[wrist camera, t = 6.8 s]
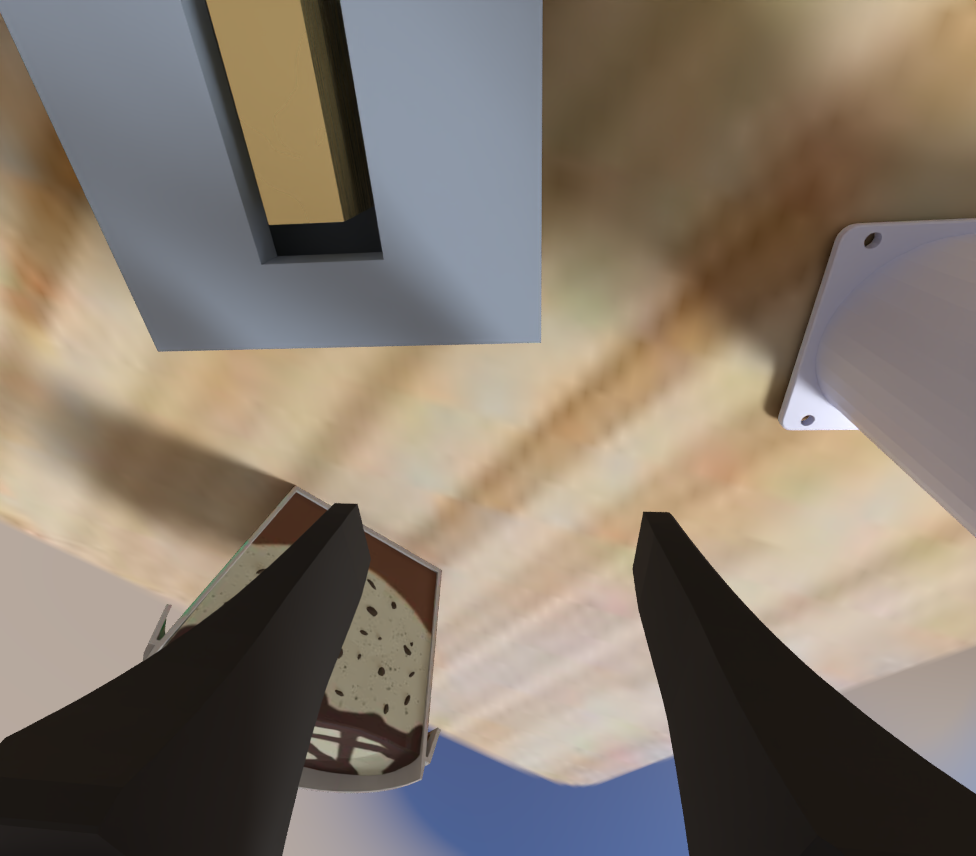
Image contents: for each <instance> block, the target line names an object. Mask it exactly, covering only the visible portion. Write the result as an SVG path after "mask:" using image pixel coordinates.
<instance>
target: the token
mask: <svg viewBox="0 0 976 856" xmlns="http://www.w3.org/2000/svg"><path fill="white" fill-rule="evenodd" d="M206 2H207V5H208V9H209V12H210V16H211V20H212V23H213V27H214V30H215V34H216V37H217V41H218V45H219V48H220V52H221V55H222V59H223V62H224V66H225V70H226V73H227V77H228V80H229V84H230V88H231V91H232V95H233V98H234V102H235V105H236V109H237V113H238V116H239V120H240V123H241V127H242V130H243V134H244V138H245V141H246V145H247V148H248V152H249V155H250V159H251V163H252V166H253V170H254V173H255V177H256V181H257V184H258V188H259V191H260V195H261V198H262V202H263V206H264V209H265V213H266V216H267V220H268V223H269V225H279V224H303V223H326V222H345V221H346V220H348V219H350V218H352V217H354V216H356V215H358V214H360V213H362V212H364V211H366V210H367V209H369V208H371V207H373V206H375V204H374V199H373V193H372V187H371V181H370V175H369V169H368V163H367V157H366V151H365V145H364V139H363V133H362V127H361V121H360V116H359V110H358V104H357V98H356V92H355V86H354V80H353V74H352V68H351V62H350V56H349V50H348V44H347V38H346V33H345V27H344V21H343V15H342V9H341V3H340V0H206Z"/></svg>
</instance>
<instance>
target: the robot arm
mask: <svg viewBox="0 0 976 856" xmlns="http://www.w3.org/2000/svg"><path fill="white" fill-rule="evenodd" d="M871 233H875V236H874V239H873V241H872V242H871V243H870V244H869V245H867V246H864V241H865V239H866V237H867V236H869V235H870V234H871ZM807 415H810V416H809V417H808V419H806V420H803V421H801V420H802V418H803V417H805V416H807ZM778 421H779V423H780V424H781V426H782V427H783V428H785V429H787V430H860V431H861V432H862V433H863V434H864V435H866V436H867V437H868V438H869V439H870V440H871V441H872V442H873V443H874V444H875V445H876V446H877V447H878V448H880V449H881V450H882V451H883V452H884V453H885V454H886V455H887V456H888V457H889V458H890V459H891V460H892V461H894V462H895V463H896V464H897V465H898V466H899V467H900V468H901V469H902V470H903V471H904V472H905V473H906V474H908V475H909V476H910V477H911V478H912V479H913V480H914V481H915V482H916V483H917V484H918V485H919V486H920V487H922V488H923V489H924V490H925V491H926V492H927V493H928V494H929V495H930V496H931V497H932V498H933V499H935V500H936V501H937V502H938V503H939V504H940V505H941V506H942V507H943V508H944V509H945V510H946V511H947V512H949V513H950V514H951V515H952V516H953V517H954V518H955V519H956V520H957V521H958V522H959V523H960V524H961V525H963V526H964V527H965V528H966V529H967V530H968V531H969V532H970V533H971V534H972V535H973V536H974V537H975V538H976V218H966V219H943V220H920V221H897V222H875V223H855V224H851V225H848V226H847V227H845V228H843V229H842V230H841V231H840V232H839V234H838V235H837V237H836V239H835V242H834V245H833V248H832V251H831V254H830V257H829V260H828V264H827V267H826V270H825V273H824V276H823V279H822V282H821V285H820V288H819V291H818V295H817V298H816V301H815V304H814V307H813V310H812V313H811V316H810V319H809V323H808V326H807V329H806V332H805V335H804V338H803V341H802V344H801V347H800V351H799V354H798V357H797V360H796V363H795V366H794V369H793V372H792V375H791V379H790V382H789V385H788V388H787V391H786V394H785V397H784V400H783V403H782V407H781V410H780V413H779V416H778ZM370 561H371V557H370V553H369V549H368V545H367V541H366V537H365V533H364V529H363V524H362V520H361V516H360V512H359V508H358V504H341V503H335V504H334V505H332V506H331V507H330V508H329V509H328V510H327V511H326V512H325V513H324V514H323V515H322V516H321V517H320V518H319V519H318V520H317V521H316V522H315V523H314V524H313V525H312V526H311V527H310V528H309V529H308V530H307V531H306V532H304V533H303V534H302V535H301V536H300V537H299V538H298V539H297V540H296V541H295V542H294V543H293V544H292V545H291V546H290V547H289V548H288V549H287V550H286V551H285V552H284V553H283V554H281V555H280V556H279V557H278V558H277V559H276V560H275V561H274V562H273V563H272V564H271V565H270V566H269V567H267V568H266V569H265V570H264V571H263V572H262V573H261V574H259V575H258V576H257V577H256V578H255V579H254V580H252V581H251V582H250V583H249V584H248V585H247V586H246V587H244V588H243V589H242V590H241V591H240V592H239V593H237V594H236V595H235V596H234V597H233V598H231V599H230V600H229V601H228V602H226V603H225V604H224V605H222V606H221V607H220V608H219V609H217V610H216V611H215V612H213V613H212V614H211V615H209V616H208V617H207V618H205V619H204V620H203V621H201V622H200V623H199V624H197V625H196V626H195V627H193V628H192V629H190V630H189V631H188V632H186V633H185V634H183V635H182V636H180V637H179V638H177V639H176V640H174V641H173V642H171V643H170V644H168V645H167V646H165V647H164V648H162V649H161V650H159V651H158V652H156V653H155V654H153V655H152V656H150V657H149V658H147V659H146V660H144V661H143V662H141V663H139V664H138V665H136V666H135V667H133V668H131V669H130V670H128V671H126V672H125V673H123V674H121V675H120V676H118V677H117V678H115V679H113V680H111V681H110V682H108V683H106V684H105V685H103V686H101V687H99V688H98V689H96V690H94V691H93V692H91V693H89V694H87V695H86V696H84V697H82V698H81V699H79V700H77V701H75V702H73V703H71V704H69V705H67V706H65V707H64V708H62V709H60V710H58V711H56V712H54V713H52V714H50V715H48V716H46V717H45V718H43V719H41V720H39V721H37V722H35V723H33V724H32V725H29V726H27V727H26V728H24V729H22V730H20V731H18V732H16V733H14V734H12V735H10V736H8V737H6V738H5V739H4V740H3V741H2V742H1V743H0V856H282V854H283V849H284V845H285V840H286V836H287V832H288V827H289V823H290V819H291V815H292V811H293V807H294V803H295V799H296V794H297V790H298V786H299V782H300V779H301V775H302V771H303V767H304V764H305V760H306V756H307V752H308V749H309V745H310V741H311V737H312V734H313V731H314V727H315V724H316V720H317V717H318V713H319V710H320V706H321V703H322V699H323V696H324V693H325V691H326V688H327V685H328V682H329V679H330V677H331V674H332V672H333V669H334V666H335V664H336V661H337V659H338V656H339V654H340V651H341V649H342V646H343V644H344V641H345V638H346V636H347V633H348V631H349V628H350V626H351V623H352V620H353V618H354V615H355V613H356V610H357V607H358V605H359V602H360V599H361V597H362V593H363V589H364V586H365V582H366V578H367V574H368V570H369V565H370ZM633 576H634V583H635V590H636V597H637V603H638V609H639V613H640V617H641V621H642V624H643V628H644V632H645V636H646V640H647V643H648V647H649V651H650V654H651V658H652V662H653V665H654V669H655V673H656V676H657V680H658V684H659V688H660V691H661V695H662V699H663V703H664V707H665V711H666V716H667V720H668V725H669V731H670V737H671V743H672V748H673V754H674V760H675V766H676V771H677V778H678V784H679V790H680V796H681V803H682V809H683V815H684V822H685V829H686V836H687V843H688V850H689V856H976V794H975V793H974V792H972V791H970V790H969V789H968V788H966V787H965V786H963V785H961V784H960V783H959V782H957V781H956V780H955V779H953V778H951V777H950V776H949V775H947V774H946V773H944V772H943V771H941V770H940V769H938V768H937V767H935V766H934V765H932V764H931V763H930V762H928V761H927V760H926V759H924V758H923V757H921V756H920V755H919V754H917V753H916V752H915V751H913V750H912V749H911V748H909V747H908V746H907V745H905V744H904V743H903V742H901V741H900V740H898V739H897V738H896V737H894V736H893V735H892V734H890V733H889V732H888V731H886V730H885V729H884V728H882V727H881V726H880V725H878V724H877V723H876V722H875V721H873V720H872V719H871V718H869V717H868V716H867V715H866V714H864V713H863V712H862V711H861V710H860V709H858V708H857V707H856V706H855V705H853V704H852V703H851V702H850V701H849V700H847V699H846V698H845V697H844V696H843V695H841V694H840V693H839V692H838V691H836V690H835V689H834V688H833V687H832V686H830V685H829V684H828V683H827V682H826V681H824V680H823V679H822V678H821V677H820V676H818V675H817V674H816V673H815V672H814V671H813V670H812V669H810V668H809V667H808V666H807V665H806V664H805V663H804V662H803V661H802V660H800V659H799V658H798V657H797V656H796V655H795V654H794V653H793V652H792V651H791V650H790V649H789V648H788V647H787V646H786V645H784V644H783V643H782V642H781V641H780V640H779V639H778V638H777V637H776V636H775V635H774V634H773V633H772V632H771V631H770V630H769V629H768V628H767V627H766V626H765V625H764V624H763V623H762V622H761V621H760V620H759V619H758V618H757V616H756V615H755V614H754V613H753V612H752V611H751V610H750V609H749V608H748V607H747V606H746V605H745V604H744V603H743V602H742V600H741V599H740V598H739V597H738V596H737V595H736V594H735V593H734V592H733V590H732V589H731V588H730V587H729V586H728V585H727V583H726V582H725V581H724V580H723V579H722V578H721V576H720V575H719V574H718V573H717V572H716V571H715V569H714V568H713V567H712V566H711V565H710V563H709V562H708V561H707V560H706V559H705V557H704V556H703V555H702V554H701V552H700V551H699V550H698V548H697V547H696V546H695V545H694V543H693V542H692V541H691V540H690V538H689V537H688V536H687V534H686V533H685V532H684V530H683V529H682V528H681V526H680V525H679V524H678V522H677V521H676V520H675V518H674V517H673V516H672V515H671V514H670V513H669V512H643V517H642V522H641V527H640V532H639V538H638V543H637V548H636V554H635V559H634V564H633Z"/></svg>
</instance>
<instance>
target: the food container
mask: <svg viewBox="0 0 976 856" xmlns="http://www.w3.org/2000/svg"><path fill="white" fill-rule="evenodd" d="M330 507H331V506H330V505H328V504H327V503H325V502H323V501H321V500H320V499H318V498H316V497H315V496H313V495H311V494H309V493H308V492H306V491H304V490H303V489H301V488H299V487H297V486H296V485H295V486H294V487H293V489H292V490H291V491H290V492H289V493H288V494H287V495H286V497H285V498H284V499H283V500H282V501H281V502H280V503H279V505H278V506H277V507H276V508H275V509H274V510H273V511H272V513H271V514H270V515H269V516H268V517H267V518H266V519H265V521H264V522H263V523H262V524H261V525H260V526H259V528H258V529H257V530H256V531H255V532H254V533H253V534H252V536H251V537H250V538H249V539H248V540H247V541H246V542H245V544H244V545H243V546H242V547H241V548H240V549H239V550H238V552H237V553H236V554H235V555H234V556H233V557H232V559H231V560H230V561H229V562H228V563H227V564H226V565H225V567H224V568H223V569H222V570H221V571H220V572H219V573H218V575H217V576H216V577H215V578H214V579H213V580H212V581H211V583H210V584H209V585H208V586H207V587H206V588H205V590H204V591H203V592H202V593H201V594H200V595H199V596H198V598H197V599H196V600H195V601H194V602H193V603H192V604H191V606H190V607H189V608H188V609H187V610H186V611H185V612H184V614H183V615H182V616H181V617H180V618H179V619H178V621H177V622H176V623H175V624H174V625H173V626H172V627H171V629H170V630H169V631H168V632H167V633H166V634H165V624H166V617H167V615H168V613H169V610H170V608H171V606H172V605H168V604H167V605H166V607H165V609H164V611H163V614H162V616H161V618H160V620H159V622H158V624H157V626H156V628H155V630H154V632H153V635H152V637H151V639H150V641H149V643H148V645H147V647H146V650H145V652H144V657H143V661H144V660H146V659H147V658H149V657H150V656H152V655H153V654H155V653H156V652H158V651H159V650H161V649H162V648H164V647H165V646H167V645H168V644H170V643H171V642H173V641H174V640H176V639H177V638H179V637H180V636H182V635H183V634H185V633H186V632H188V631H189V630H190V629H192V628H193V627H195V626H196V625H197V624H199V623H200V622H201V621H203V620H204V619H205V618H207V617H208V616H209V615H211V614H212V613H213V612H215V611H216V610H217V609H219V608H220V607H221V606H222V605H224V604H225V603H226V602H228V601H229V600H230V599H231V598H233V597H234V596H235V595H236V594H237V593H239V592H240V591H241V590H242V589H243V588H244V587H246V586H247V585H248V584H249V583H250V582H251V581H252V580H254V579H255V578H256V577H257V576H258V575H259V574H261V573H262V572H263V571H264V570H265V569H266V568H267V567H269V566H270V565H271V564H272V563H273V562H274V561H275V560H276V559H277V558H278V557H279V556H280V555H281V554H283V553H284V552H285V551H286V550H287V549H288V548H289V547H290V546H291V545H292V544H293V543H294V542H295V541H296V540H297V539H298V538H299V537H300V536H301V535H302V534H303V533H304V532H306V531H307V530H308V529H309V528H310V527H311V526H312V525H313V524H314V523H315V522H316V521H317V520H318V519H319V518H320V517H321V516H322V515H323V514H324V513H325V512H326V511H327V510H328V509H329V508H330ZM363 529H364V533H365V537H366V541H367V545H368V549H369V553H370V557H371V561H370V565H369V570H368V574H367V578H366V582H365V586H364V589H363V593H362V597H361V599H360V602H359V605H358V607H357V610H356V613H355V615H354V618H353V620H352V623H351V626H350V628H349V631H348V633H347V636H346V638H345V641H344V644H343V646H342V649H341V651H340V654H339V656H338V659H337V661H336V664H335V666H334V669H333V672H332V674H331V677H330V679H329V682H328V685H327V688H326V691H325V693H324V696H323V699H322V703H321V706H320V710H319V713H318V717H317V720H316V724H315V727H314V731H313V734H312V737H311V741H310V745H309V749H308V752H307V756H306V760H305V764H304V767H303V771H302V775H301V779H300V782H299V786H298V788H299V789H306V790H313V791H322V792H334V793H367V792H379V791H385V790H391V789H396V788H399V787H403V786H406V785H410V784H412V783H415V782H417V781H419V780H422V776H423V771H424V766H426V765H428V764H430V762H431V758H432V756H433V752H434V749H435V746H436V743H437V740H438V737H439V734H440V729H439V728H436V729H434V730H432V731H430V732H428V723H429V712H430V700H431V689H432V677H433V666H434V654H435V643H436V631H437V620H438V608H439V597H440V585H441V574H442V570H440V569H439V568H437V567H435V566H433V565H432V564H430V563H428V562H427V561H425V560H423V559H421V558H420V557H418V556H416V555H414V554H413V553H411V552H409V551H408V550H406V549H404V548H402V547H401V546H399V545H397V544H396V543H394V542H392V541H390V540H389V539H387V538H385V537H383V536H382V535H380V534H378V533H377V532H375V531H373V530H371V529H370V528H368V527H366V526H365V525H363Z"/></svg>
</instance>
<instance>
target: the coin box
mask: <svg viewBox="0 0 976 856" xmlns="http://www.w3.org/2000/svg"><path fill="white" fill-rule="evenodd" d="M340 3H341V9H342V15H343V21H344V27H345V33H346V38H347V44H348V50H349V56H350V62H351V68H352V74H353V80H354V86H355V92H356V98H357V104H358V110H359V116H360V121H361V127H362V133H363V139H364V145H365V151H366V157H367V163H368V169H369V175H370V181H371V187H372V193H373V199H374V204H375V206H373V207H371V208H369V209H367V210H366V211H364V212H362V213H360V214H358V215H356V216H354V217H352V218H350V219H348V220H346V221H345V222H326V223H303V224H279V225H269V223H268V220H267V216H266V213H265V209H264V206H263V202H262V198H261V195H260V191H259V188H258V184H257V181H256V177H255V173H254V170H253V166H252V163H251V159H250V155H249V152H248V148H247V145H246V141H245V138H244V134H243V130H242V127H241V123H240V120H239V116H238V113H237V109H236V105H235V102H234V98H233V95H232V91H231V88H230V84H229V80H228V77H227V73H226V70H225V66H224V62H223V59H222V55H221V52H220V48H219V45H218V41H217V37H216V34H215V30H214V27H213V23H212V20H211V16H210V12H209V9H208V5H207V2H206V0H0V13H1V15H2V17H3V19H4V21H5V23H6V25H7V28H8V30H9V32H10V34H11V36H12V38H13V41H14V43H15V45H16V47H17V49H18V51H19V53H20V56H21V58H22V60H23V62H24V64H25V66H26V69H27V71H28V73H29V75H30V77H31V79H32V81H33V84H34V86H35V88H36V90H37V92H38V94H39V97H40V99H41V101H42V103H43V105H44V107H45V109H46V112H47V114H48V116H49V118H50V120H51V122H52V125H53V127H54V129H55V131H56V133H57V135H58V137H59V140H60V142H61V144H62V146H63V148H64V150H65V152H66V155H67V157H68V159H69V161H70V163H71V165H72V168H73V170H74V172H75V174H76V176H77V178H78V180H79V183H80V185H81V187H82V189H83V191H84V193H85V196H86V198H87V200H88V202H89V204H90V206H91V208H92V211H93V213H94V215H95V217H96V219H97V221H98V224H99V226H100V228H101V230H102V232H103V234H104V236H105V239H106V241H107V243H108V245H109V247H110V249H111V252H112V254H113V256H114V258H115V260H116V262H117V264H118V267H119V269H120V271H121V273H122V275H123V277H124V279H125V282H126V284H127V286H128V288H129V290H130V292H131V295H132V297H133V299H134V301H135V303H136V305H137V307H138V310H139V312H140V314H141V316H142V318H143V320H144V323H145V325H146V327H147V329H148V331H149V333H150V335H151V338H152V340H153V342H154V344H155V346H156V348H157V351H201V350H244V349H287V348H330V347H373V346H416V345H459V344H502V343H541V224H542V18H543V0H340Z"/></svg>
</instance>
